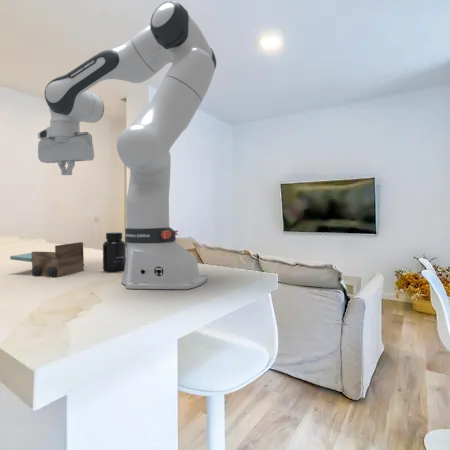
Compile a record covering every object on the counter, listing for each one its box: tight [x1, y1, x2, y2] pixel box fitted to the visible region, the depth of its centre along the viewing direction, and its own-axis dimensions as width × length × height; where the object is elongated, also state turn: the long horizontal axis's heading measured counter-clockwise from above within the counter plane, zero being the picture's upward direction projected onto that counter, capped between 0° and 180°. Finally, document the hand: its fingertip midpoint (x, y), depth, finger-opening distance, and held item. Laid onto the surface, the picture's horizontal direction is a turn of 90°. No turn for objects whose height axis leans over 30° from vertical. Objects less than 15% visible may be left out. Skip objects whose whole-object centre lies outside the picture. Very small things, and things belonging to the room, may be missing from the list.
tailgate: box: [9, 252, 32, 263], centre depth 97 cm, size 2×10×8 cm
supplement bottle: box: [102, 232, 127, 273], centre depth 97 cm, size 7×7×12 cm
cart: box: [31, 241, 85, 278], centre depth 95 cm, size 10×12×9 cm
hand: (66, 175), depth 105 cm, fingers closed
